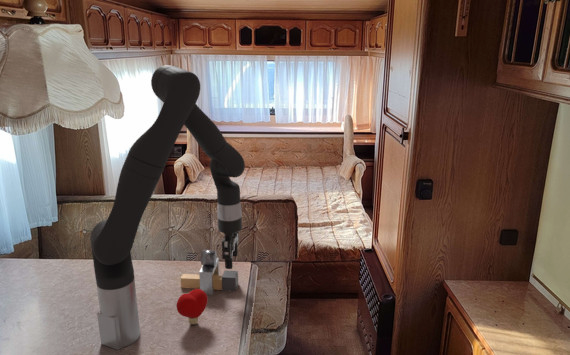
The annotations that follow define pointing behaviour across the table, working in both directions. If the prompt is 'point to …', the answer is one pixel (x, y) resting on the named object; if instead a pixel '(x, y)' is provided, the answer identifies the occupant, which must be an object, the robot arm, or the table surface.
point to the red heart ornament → (192, 305)
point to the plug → (219, 282)
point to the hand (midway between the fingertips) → (231, 261)
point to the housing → (208, 270)
